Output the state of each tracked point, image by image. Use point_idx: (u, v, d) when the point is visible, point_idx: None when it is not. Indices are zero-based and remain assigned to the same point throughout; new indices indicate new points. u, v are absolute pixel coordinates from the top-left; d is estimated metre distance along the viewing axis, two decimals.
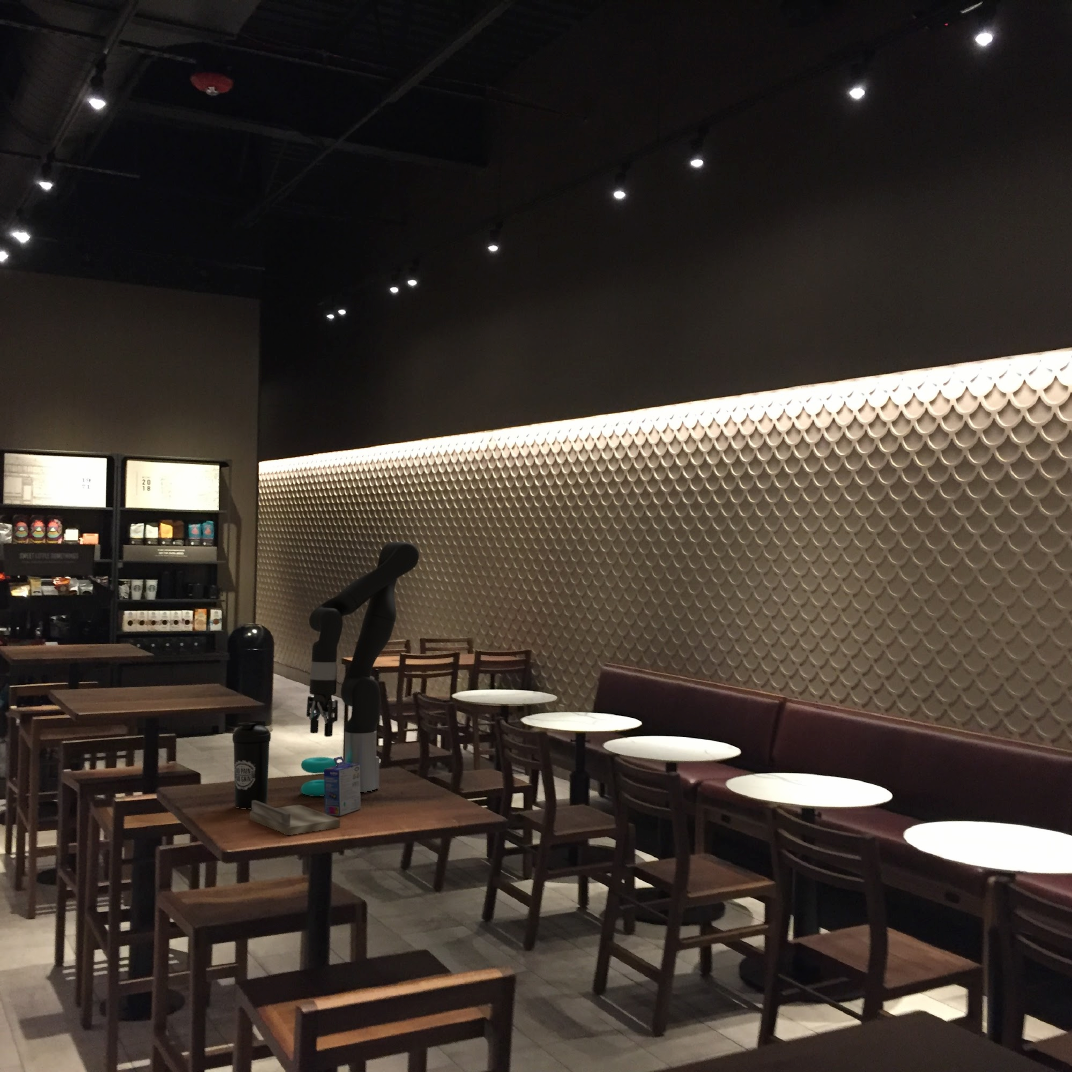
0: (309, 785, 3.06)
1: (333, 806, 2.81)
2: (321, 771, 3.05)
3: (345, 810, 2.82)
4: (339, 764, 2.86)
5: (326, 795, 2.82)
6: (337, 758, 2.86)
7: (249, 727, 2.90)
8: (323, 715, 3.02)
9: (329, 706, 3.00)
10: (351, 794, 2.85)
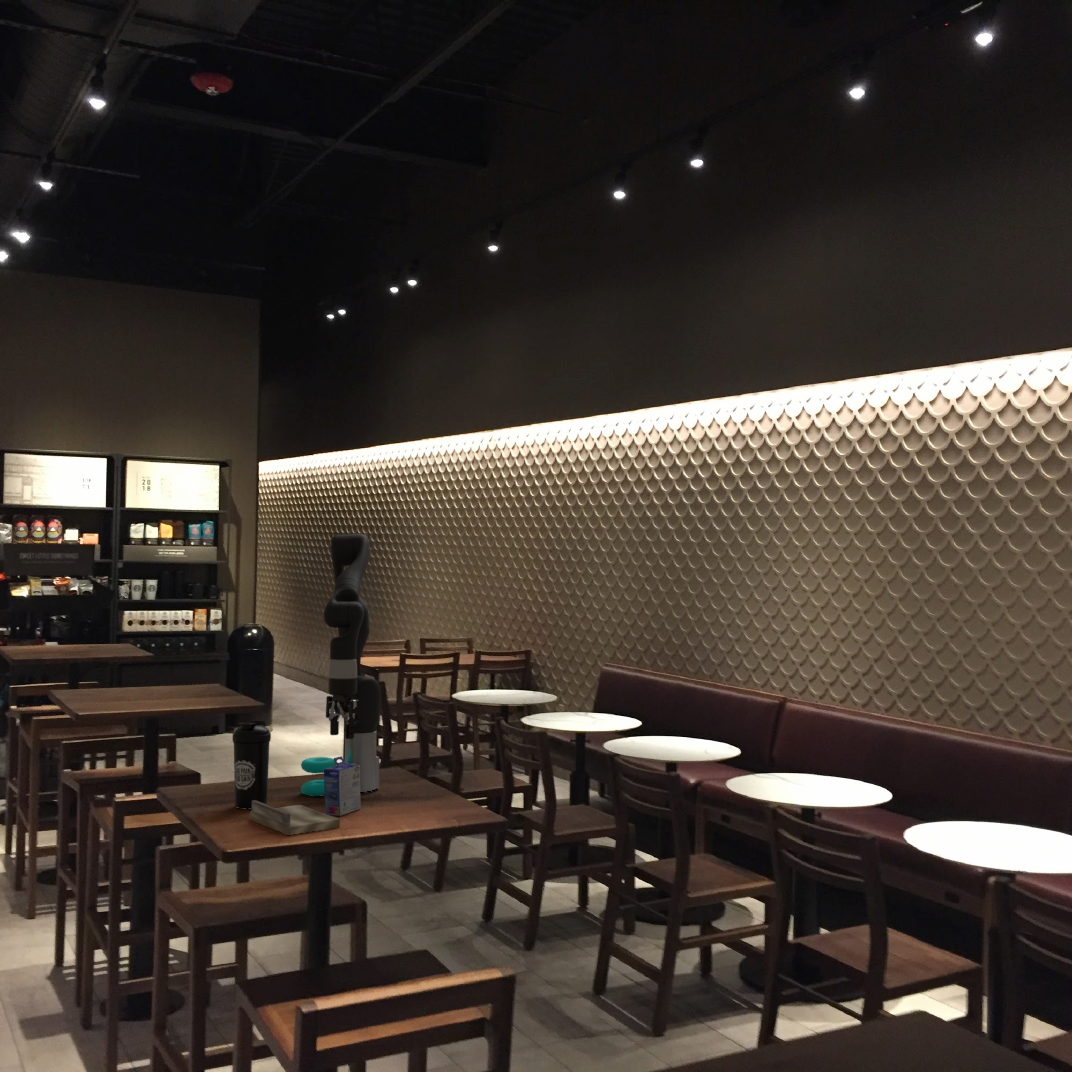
0: (309, 785, 3.06)
1: (333, 806, 2.81)
2: (321, 771, 3.05)
3: (345, 810, 2.82)
4: (339, 764, 2.86)
5: (326, 795, 2.82)
6: (337, 758, 2.86)
7: (249, 727, 2.90)
8: (344, 716, 2.83)
9: (350, 706, 2.81)
10: (351, 794, 2.85)
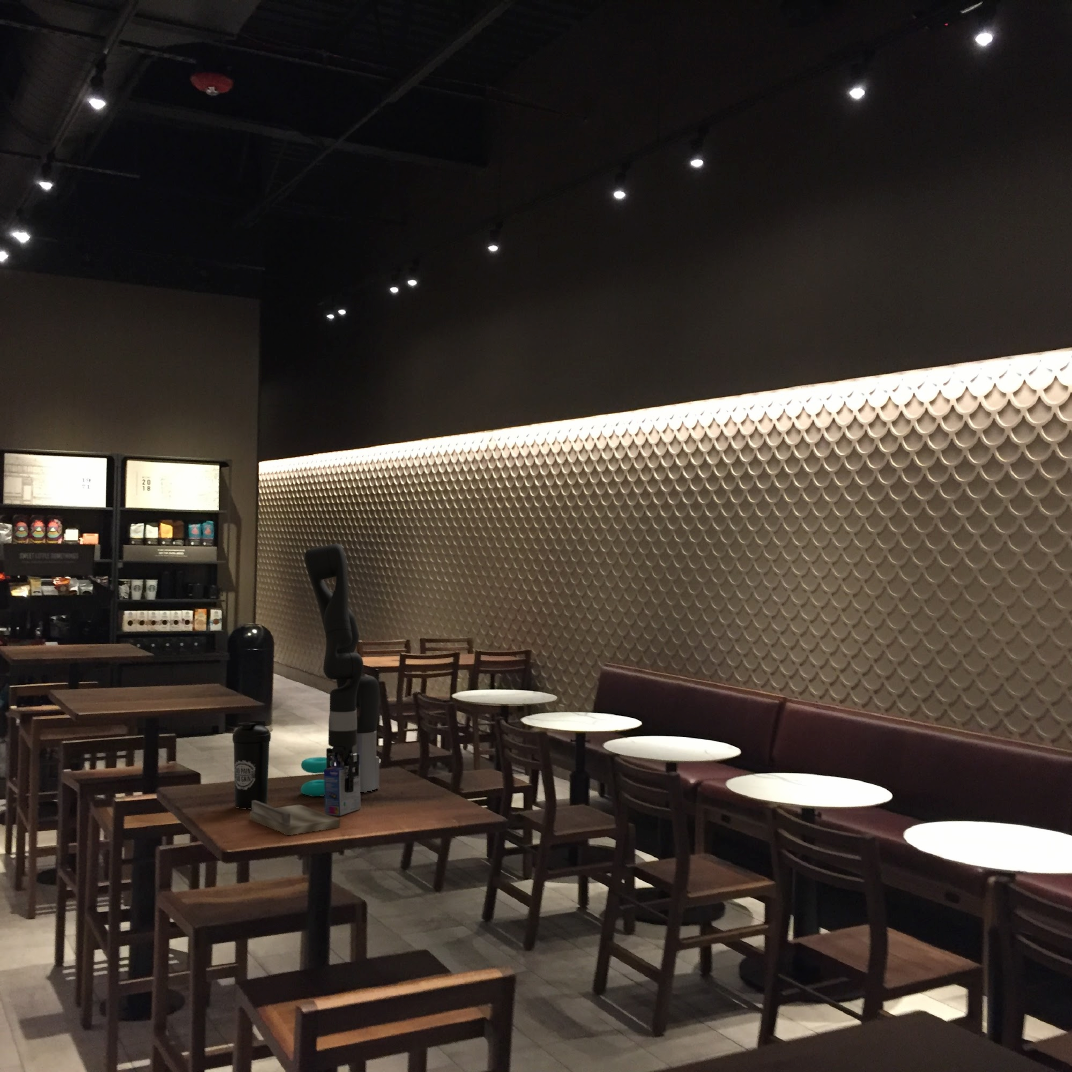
0: (309, 785, 3.06)
1: (333, 806, 2.81)
2: (321, 771, 3.05)
3: (345, 810, 2.82)
4: None
5: (326, 795, 2.82)
6: None
7: (249, 727, 2.90)
8: None
9: (350, 760, 2.81)
10: (351, 794, 2.85)
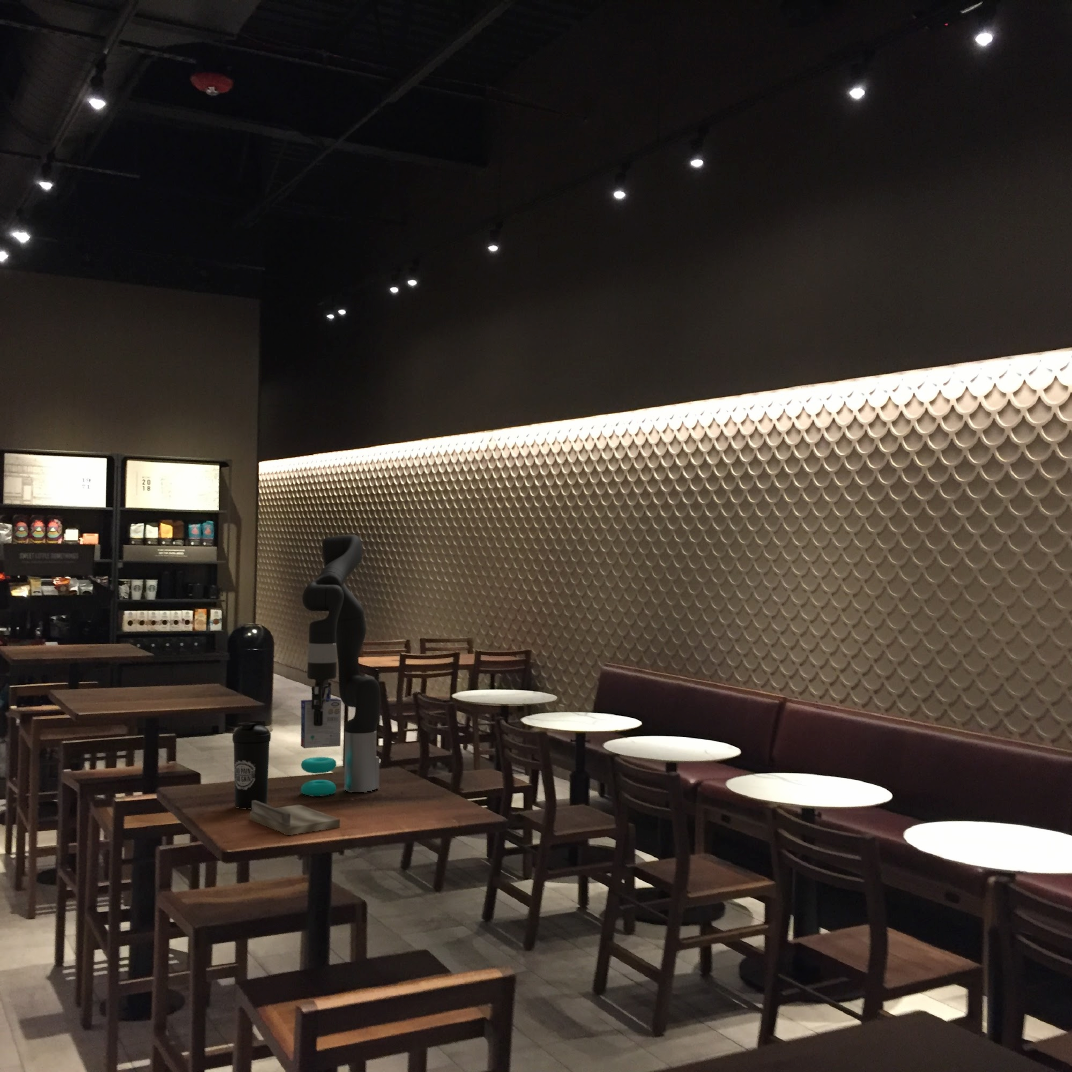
0: (309, 785, 3.06)
1: (302, 738, 2.78)
2: (321, 771, 3.05)
3: (313, 743, 2.77)
4: None
5: (301, 726, 2.80)
6: None
7: (249, 727, 2.90)
8: None
9: (312, 693, 2.75)
10: (325, 729, 2.79)
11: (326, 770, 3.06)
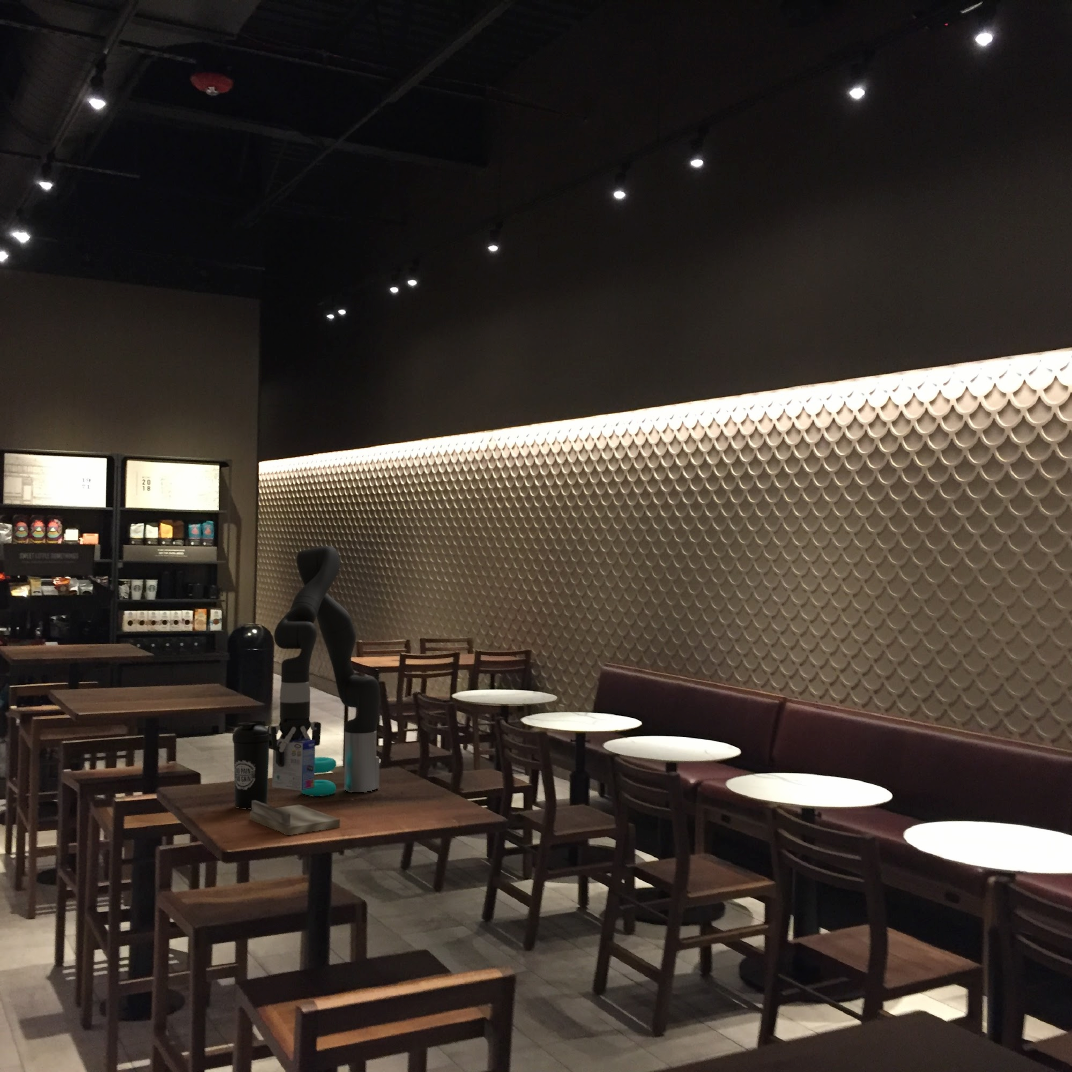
0: None
1: None
2: (321, 771, 3.05)
3: (279, 784, 2.72)
4: None
5: None
6: None
7: (249, 727, 2.90)
8: None
9: None
10: (289, 771, 2.71)
11: (326, 770, 3.06)
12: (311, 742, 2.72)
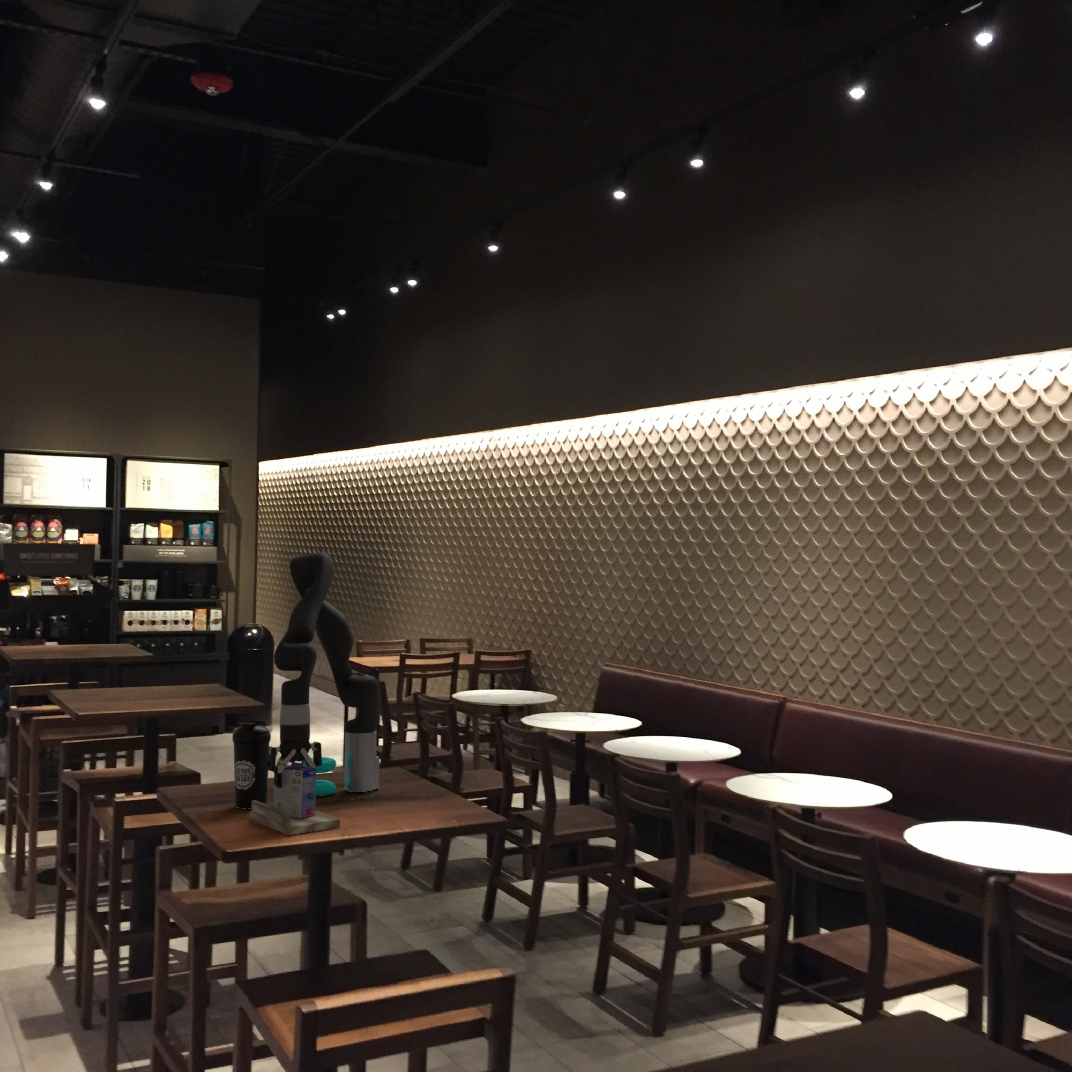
0: None
1: None
2: (321, 771, 3.05)
3: None
4: (294, 764, 2.74)
5: None
6: None
7: (249, 727, 2.90)
8: None
9: None
10: (290, 798, 2.71)
11: (326, 770, 3.06)
12: (312, 770, 2.72)
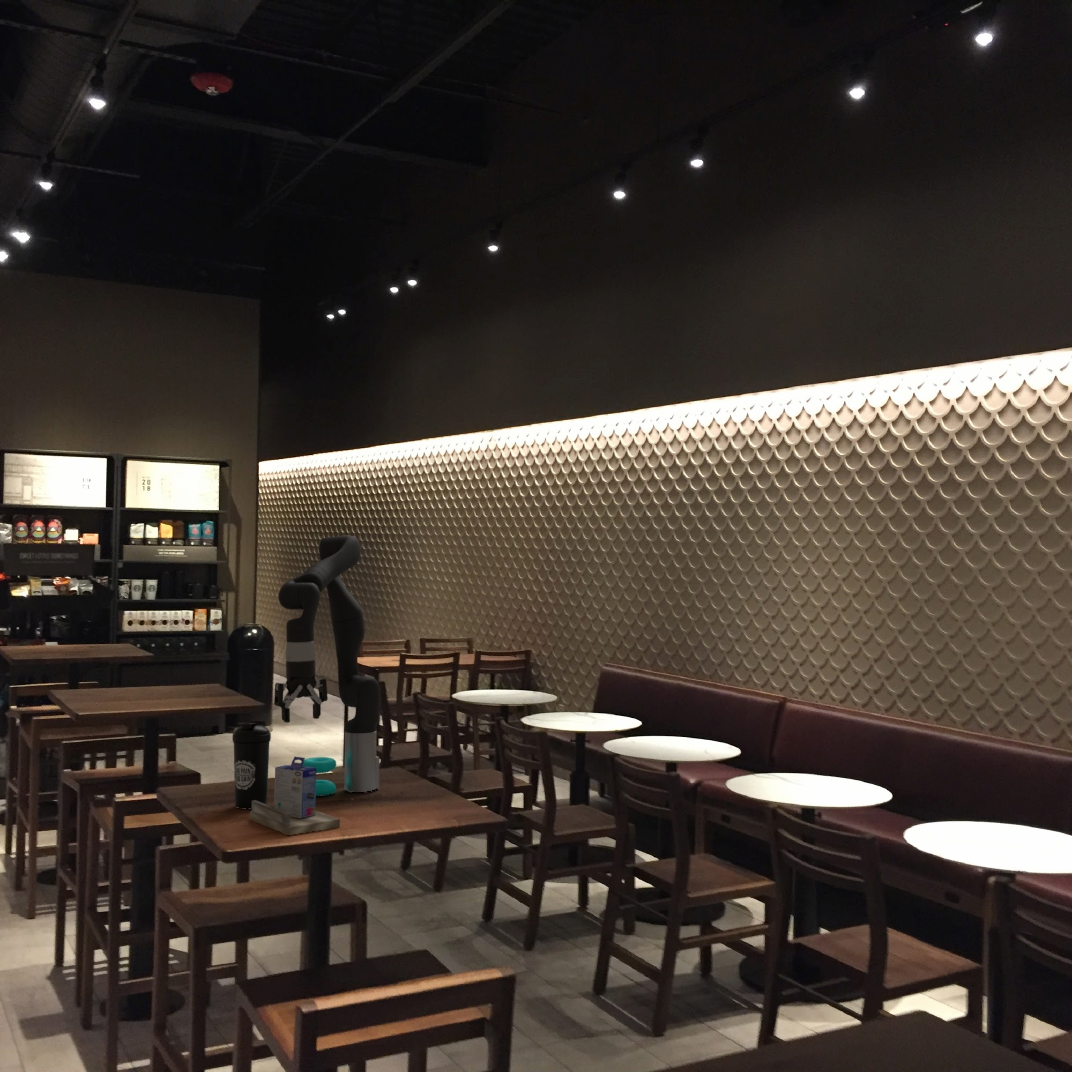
0: None
1: None
2: (321, 771, 3.05)
3: None
4: (294, 764, 2.74)
5: None
6: (297, 758, 2.75)
7: (249, 727, 2.90)
8: None
9: None
10: (290, 798, 2.71)
11: (326, 770, 3.06)
12: (312, 770, 2.72)
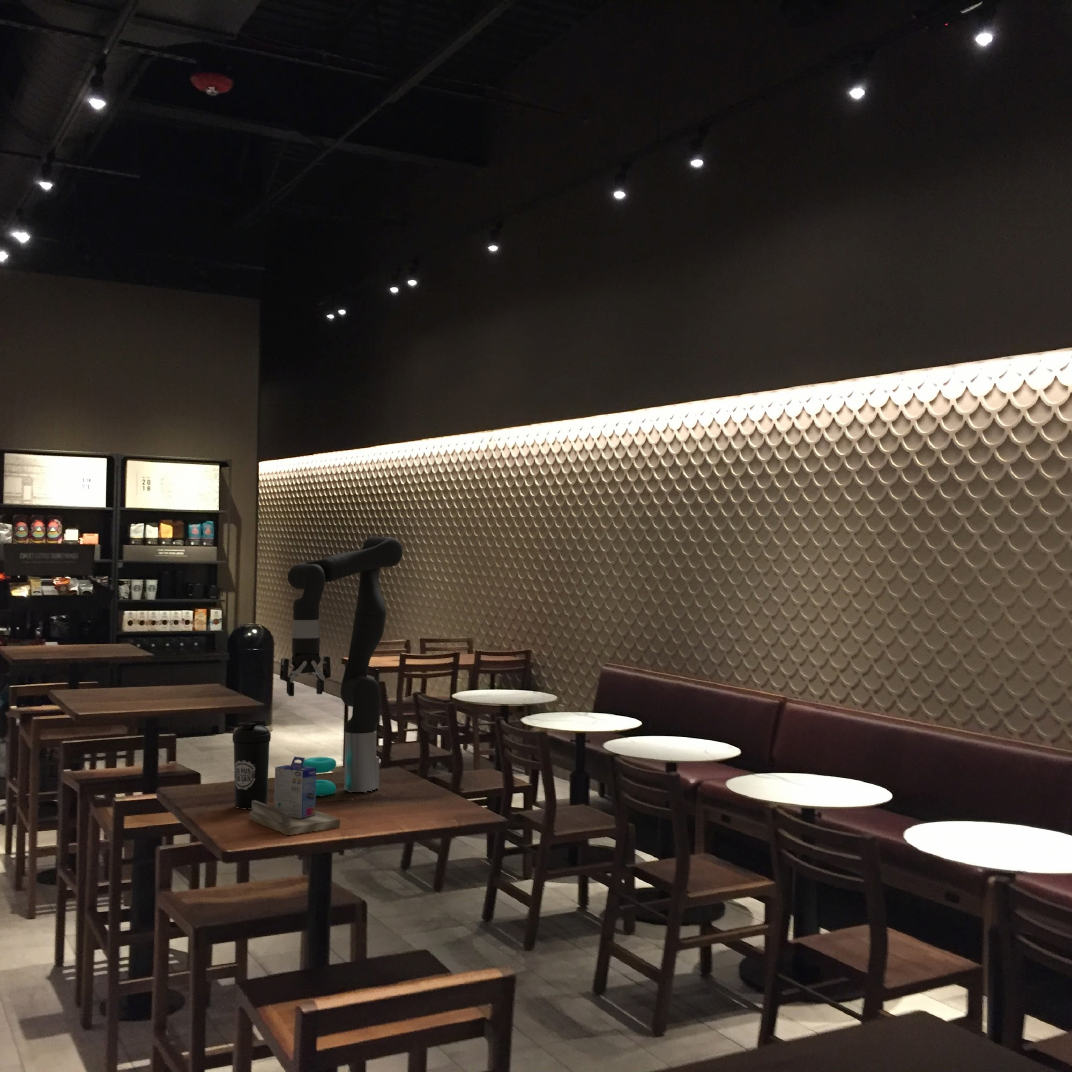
0: None
1: None
2: (321, 771, 3.05)
3: None
4: (294, 764, 2.74)
5: None
6: (297, 758, 2.75)
7: (249, 727, 2.90)
8: None
9: None
10: (290, 798, 2.71)
11: (326, 770, 3.06)
12: (312, 770, 2.72)
